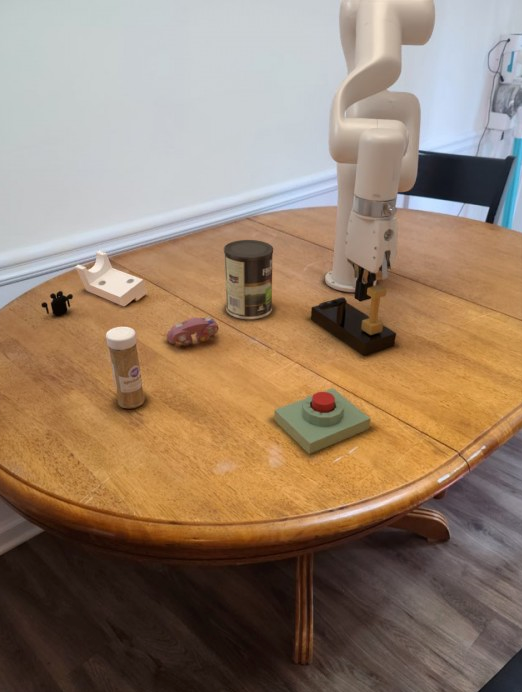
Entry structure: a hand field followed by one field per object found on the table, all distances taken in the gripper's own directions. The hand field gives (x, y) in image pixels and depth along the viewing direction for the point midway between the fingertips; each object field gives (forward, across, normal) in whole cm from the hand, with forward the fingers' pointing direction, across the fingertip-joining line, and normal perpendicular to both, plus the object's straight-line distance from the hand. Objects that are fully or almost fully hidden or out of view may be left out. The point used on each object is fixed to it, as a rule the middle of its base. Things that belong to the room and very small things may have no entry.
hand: (362, 298), depth 111 cm
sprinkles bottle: (+8, +2, +48) cm, 49 cm away
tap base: (+9, +2, +3) cm, 9 cm away
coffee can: (+9, +22, +13) cm, 27 cm away
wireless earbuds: (+9, +39, +50) cm, 64 cm away
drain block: (+8, -20, +24) cm, 32 cm away
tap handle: (+5, -4, 0) cm, 7 cm away
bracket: (+9, +44, +37) cm, 58 cm away
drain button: (+5, -20, +24) cm, 31 cm away
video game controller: (+9, +15, +30) cm, 35 cm away
